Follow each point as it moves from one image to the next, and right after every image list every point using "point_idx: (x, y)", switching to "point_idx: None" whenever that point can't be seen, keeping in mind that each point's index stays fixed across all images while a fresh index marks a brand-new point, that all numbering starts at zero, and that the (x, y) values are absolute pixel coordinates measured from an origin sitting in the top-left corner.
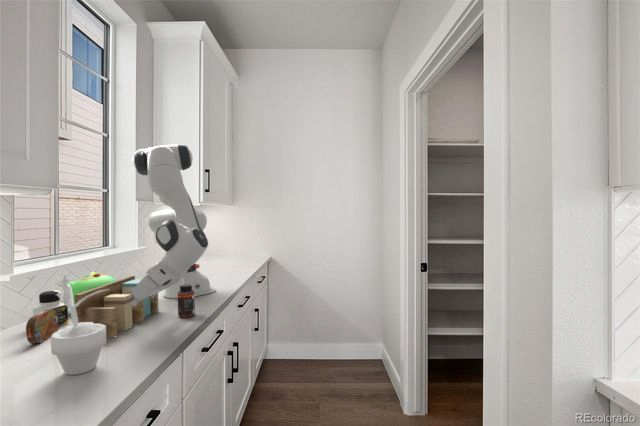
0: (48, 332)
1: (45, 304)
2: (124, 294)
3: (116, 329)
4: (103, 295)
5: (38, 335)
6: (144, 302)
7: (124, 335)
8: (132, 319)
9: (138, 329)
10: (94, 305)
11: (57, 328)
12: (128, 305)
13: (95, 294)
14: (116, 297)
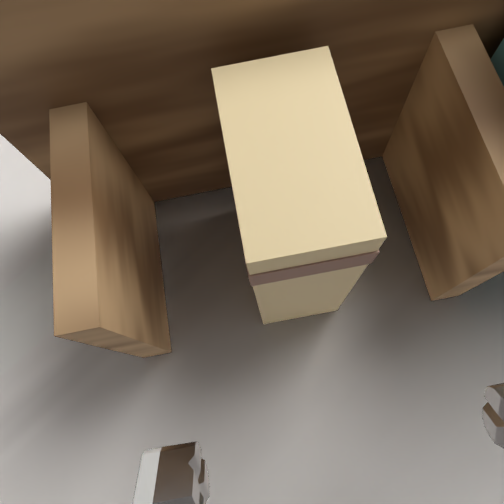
0: None
1: None
2: (352, 173)
3: (152, 349)
4: (262, 21)
5: None
6: None
7: (183, 390)
8: (415, 237)
9: (294, 398)
10: (152, 89)
11: None
12: (312, 280)
13: (140, 10)
14: (232, 182)
